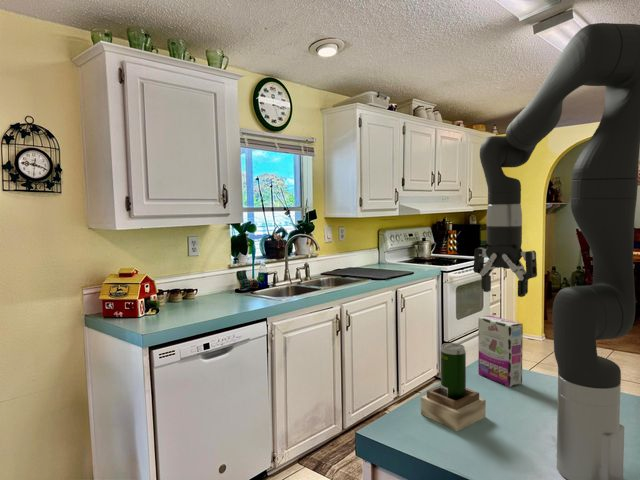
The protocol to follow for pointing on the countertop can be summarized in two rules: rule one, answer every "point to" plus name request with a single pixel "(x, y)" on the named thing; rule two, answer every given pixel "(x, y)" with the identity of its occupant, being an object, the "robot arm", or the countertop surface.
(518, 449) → the countertop surface
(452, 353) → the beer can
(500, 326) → the candy bar box
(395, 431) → the countertop surface
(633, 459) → the countertop surface
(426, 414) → the pedestal
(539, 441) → the countertop surface
